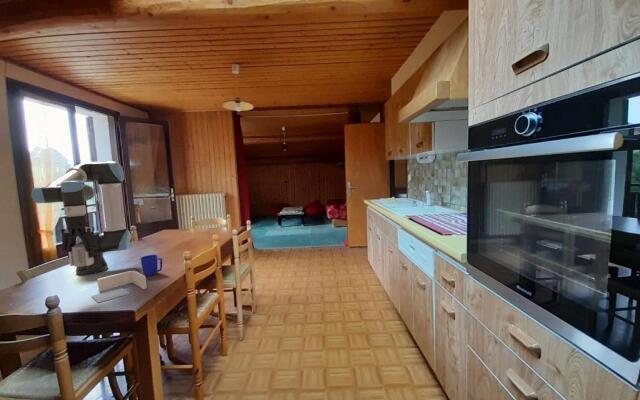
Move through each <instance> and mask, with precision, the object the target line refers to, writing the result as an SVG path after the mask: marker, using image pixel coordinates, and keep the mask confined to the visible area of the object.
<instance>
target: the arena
mask: <svg viewBox="0 0 640 400" xmlns="http://www.w3.org/2000/svg"><path fill="white" fill-rule="evenodd" d="M96 280H97V287H98V291H99V292H103V291H107V290H111V289H114V288H116V287H117V288H119V287H121V286H125V285H129V284H132V283H133V284H135V285H136V286H138V287H139V288H141V289H142V290H144V289H145V290H146V289H147V278H146V275H144V274H143V273H140V272H138V271H136V270H135V269H133V270H129V271H124V272H120V273H116V274H112V275H108V276H104V277H100V278H97V279H96Z"/></svg>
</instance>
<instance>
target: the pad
mask: <svg viewBox="0 0 640 400" xmlns="http://www.w3.org/2000/svg"><path fill="white" fill-rule="evenodd" d="M127 295H130V292H128V291H127V290H125V289H124V288H122V287H117V288H115V289H112V290H111V289H110V290H108V291H107V290H106V291H105V292H101V293H97V294H94V295H91V298H92V299H93V301H95V302H96V303H97V304H99V303H103V302H106V301H110V300H114V299H117V298H120V296H121V297H123V296H127Z"/></svg>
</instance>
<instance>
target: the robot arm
mask: <svg viewBox="0 0 640 400" xmlns="http://www.w3.org/2000/svg"><path fill="white" fill-rule="evenodd" d="M124 180H125V172H124V169H123V167H122V164H120V163H119V162H118V161H112V160H111V161H110V160H109V161H88V162H82V163H79V164H77V165H74V166H72V167H70V168H68V169H67V170H66V172H65V174H63V175H62V176H60V177H58V178H57V179H55V180H54V181H52V182H51V183H49V184H48V185H46V186H37V187H33V188H32V190H31V195H30V196H31V200H32V201H33V202H34V203H35V204H51V203H52V204H54V203H63V204H62V205H63V212H64V216H65V217H64V220H65V225H67V227H66V228H61V229H60V232H61V235H62V237H61V239H62V240H61V241H62V242H61V245H62V247H61V250H62V251H65V252H67V258H68V259H69V260H68V261H69V267H73V266H74V261H73V253H72V247H73V246H76V245H81V244H84V246H85V248H86V251H85V255H86V263H87V266H82V267H75V266H74V267H75V274H76V275H77V276H85V275H92V274H93V275H94V274H96V273H97V274H98V273H101V272H104V271H106V270H107V269H108V268H109V265H108V262H107V261H106V260H105V258H104V253H108V252H110V253H111V252H116V251H117V252H120V251H125V250H127V249H129V247H130V244H131V239H132V238H131V237H132V236H131V235H132V234H131V230H127V227H126V226H125V225H124V223H123V215H122V214H123V212H122V203H121V195H120V188H119V187H120V186H121V185H122V182H123V181H124ZM93 182H94V183H97V186H98V187H100V188H101V196H102V204H103V212H104V221H105V228H104V229H103V231H102V232H101V231H100V230H95V228H94V226H91V227H89V226H88V225H87V223H88V217H87V209H86V208H87V207H86V201H89V200H92V199H94V197H95V196H96V190H95V189H94V187H93V186H92V185H89V184H84V183H93ZM75 244H76V245H75ZM89 247H90V248H89ZM93 258H94V263H93Z"/></svg>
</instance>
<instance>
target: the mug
mask: <svg viewBox="0 0 640 400" xmlns="http://www.w3.org/2000/svg"><path fill="white" fill-rule="evenodd" d="M158 260H159V266H158ZM140 264H141V267H142V272H143V273H142V274H143V275H144V276H145V277H146V276H153V275H156V274H157V273H158V272H161V271H162V269H163V258H162V257H158V254H149V255H144V256H141V257H140ZM158 268H159V269H158Z"/></svg>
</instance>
